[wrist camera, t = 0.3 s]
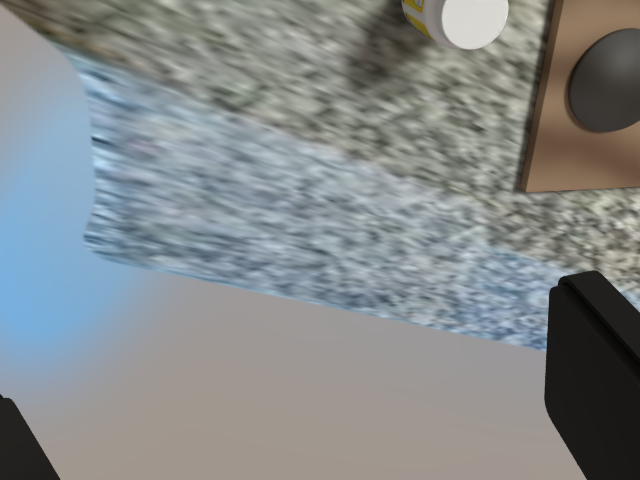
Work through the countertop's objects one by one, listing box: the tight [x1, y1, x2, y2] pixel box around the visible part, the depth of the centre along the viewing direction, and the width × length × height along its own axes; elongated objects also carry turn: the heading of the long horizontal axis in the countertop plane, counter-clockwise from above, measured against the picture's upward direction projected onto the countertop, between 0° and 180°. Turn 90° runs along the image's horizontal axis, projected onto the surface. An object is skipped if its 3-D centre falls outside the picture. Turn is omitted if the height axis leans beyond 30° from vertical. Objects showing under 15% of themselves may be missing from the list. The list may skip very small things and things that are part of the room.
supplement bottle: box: [402, 0, 508, 50], centre depth 37 cm, size 5×5×8 cm
